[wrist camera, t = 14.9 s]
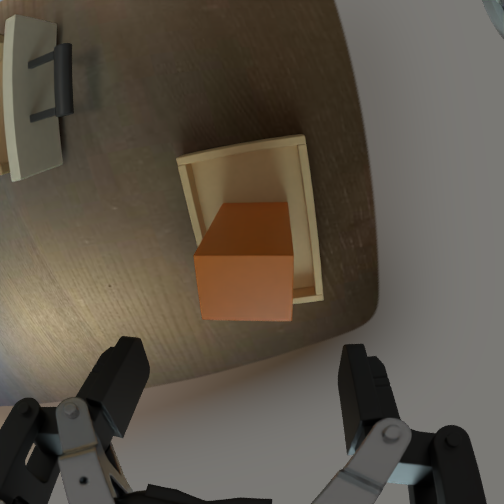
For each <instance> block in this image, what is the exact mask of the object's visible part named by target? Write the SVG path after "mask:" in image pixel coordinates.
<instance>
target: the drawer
mask: <svg viewBox="0 0 504 504" xmlns="http://www.w3.org/2000/svg"><path fill="white" fill-rule="evenodd" d="M56 37H57V24H56V23H52V22H48V21H44V20H40V19H36V18H31V17H27V16H22V15H17V14H15V15H13V16H12V17H10V18H8V19H7V20H6V23H5V34H4V35H1V34H0V175H4V174H6V173H9V172H10V174H11V180H12V182H14V181H19V180H22V179H25V178H27V177H30V176H33V175H35V174H38V173H40V172H43V171H46V170H48V169H51V168H54V167H57V166H59V165H62V164H63V159H62V151H61V142H60V132H59V121H58V117H62V116H66V115H70V114H73V113H74V108H73V89H72V44H70V43H64V44H59V45H57V46H56Z"/></svg>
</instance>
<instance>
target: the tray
mask: <svg viewBox="0 0 504 504" xmlns="http://www.w3.org/2000/svg"><path fill="white" fill-rule="evenodd" d="M176 160H177V164H178V169H179V173H180V177H181V182H182V186H183V190H184V194H185V199H186V203H187V207H188V211H189V215H190V219H191V223H192V227H193V231H194V235H195V239H196V243H197V246H199V245H200V243H201V241H202V239H203V237H204V236H205V234H206V232H207V230H208V228H209V227H210V225H211V223H212V221H213V220H214V218H215V216H216V214H217V213H218V211H219V209H220V207H221V206H222V204H223V203H253V202H288V208H289V216H290V225H291V233H292V242H293V251H294V276H293V304H297V303H305V302H313V301H321V300H323V299H324V298H323V285H322V273H321V262H320V251H319V241H318V232H317V223H316V214H315V205H314V197H313V189H312V181H311V174H310V167H309V160H308V153H307V146H306V139H305V136H304V135H303V134H297V135H289V136H282V137H275V138H269V139H262V140H256V141H250V142H244V143H239V144H233V145H228V146H222V147H217V148H212V149H207V150H202V151H198V152H193V153H188V154H184V155H182V156H180V157H178V158H176Z"/></svg>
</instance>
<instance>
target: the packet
mask: <svg viewBox="0 0 504 504" xmlns="http://www.w3.org/2000/svg"><path fill="white" fill-rule="evenodd" d="M194 264H195V272H196V279H197V287H198V294H199V301H200V308H201V315H202V319H203V320H233V321H292V307H293V276H294V251H293V242H292V233H291V225H290V216H289V208H288V202H253V203H223V204H222V206H221V207H220V209H219V211H218V213H217V214H216V216H215V218H214V220H213V221H212V223H211V225H210V227H209V228H208V230H207V232H206V234H205V236H204V237H203V239H202V241H201V243H200V245H199V246H198V248H197V250H196V252H195V254H194Z"/></svg>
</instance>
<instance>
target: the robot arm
mask: <svg viewBox="0 0 504 504" xmlns="http://www.w3.org/2000/svg"><path fill="white" fill-rule="evenodd" d="M500 3H501V6H502V8H503V10H504V0H500ZM149 373H150V366H149V362H148V359H147V356H146V353H145V350H144V347H143V344H142V341H141V339H140V338H136V337H127V336H122V337H121V338H120V339H119V341H118V342H117V344H116V346H115V347H110V348H109V349H107V350H106V351H105V352H104V353H102V355H101V356H100V358H99V359H98V361H97V363H96V365H95V366H94V367H93V369H92V372H90V374H89V376H88V377H87V379H86V381H85V382H84V384H83V386H82V387H81V389H80V391H79V392H78V394H77V396H76V397H71V398H67V399H65V400H63V401H62V402H61V403H60V404H59V405H58V406H57V407H41V406H40V405H39V403H38V402H37V401H36V400H35V399H33V398H24V399H21V400H20V401H18V402H17V403H16V404H15V405H14V407H13V409H12V410H11V412H10V414H9V415H8V417H7V419H6V420H5V422H4V424H3V426H2V427H1V429H0V504H48V501H49V499H50V496H51V493H52V490H53V488H54V485H55V483H56V480H57V477H58V475H59V473H60V472H61V476H62V480H63V484H64V488H65V492H66V495H67V499H68V503H69V504H272V499H256V498H233V499H225V500H215V501H205V500H201V499H199V498H196V497H194V496H191V495H189V494H186V493H183V492H181V491H179V490H176V489H171V488H165V487H161V486H156V485H151V484H148V486H147V489H146V490H144V491H136V492H133V490H132V489H131V487H130V485H129V484H128V482H127V480H126V478H125V476H124V474H123V471H122V469H121V466H120V464H119V461H118V459H117V456H116V453H115V451H114V448H113V445H112V443H111V439H112V437H113V436H117V437H121V438H123V437H124V434H125V432H126V430H127V427H128V425H129V422H130V420H131V418H132V415H133V413H134V411H135V408H136V406H137V403H138V401H139V399H140V397H141V394H142V392H143V389H144V387H145V385H146V383H147V380H148V378H149ZM338 389H339V396H340V402H341V410H342V417H343V425H344V432H345V441H346V449H347V455H353V456H352V457H351V459H350V460H349V462H348V463H347V464H346V465H345V467H344V468H343V469H342V470H339V472H337V474H336V475H335V476H334V477H333V478H332V480H331V481H330V482H329V483H328V485H327V486H326V487H325V488H324V489H323V491H322V492H321V493H320V494H319V495H318V496H317V497H316V498H315V500H314V501H313V502H312V503H311V504H374V502H375V501H376V499H377V498H378V496H379V495H380V493H381V492H382V490H383V487H384V486H385V484H386V482H390V483H399V484H406V485H408V490H409V499H410V504H487V503H486V499H485V494H484V490H483V486H482V481H481V478H480V473H479V470H478V466H477V462H476V458H475V455H474V451H473V448H472V445H471V441H470V438H469V436H468V434H467V432H466V431H465V430H464V429H462V428H461V427H458V426H455V425H448V426H444V427H442V428H441V429H439V430H438V431H437V433H427V432H419V431H415V430H412V429H410V428H409V426H408V425H407V424H406V423H405V422H403V421H402V420H401V419H400V417H399V413H398V409H397V406H396V403H395V399H394V396H393V392H392V389H391V386H390V382H389V379H388V378H387V373H386V369H385V366H384V365H383V363H382V362H381V361H380V360H379V359H378V358H377V357H376V356H372V357H367V354H366V350H365V347H364V345H363V344H347V345H344V346H343V350H342V355H341V361H340V366H339V372H338ZM33 443H34V444H35V445H36V446H35V448H34V450H33V452H32V454H31V456H30V458H29V461H28V463H27V465H25V459H26V457H27V455H28V452H29V450H30V448H31V446H32V444H33Z"/></svg>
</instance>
